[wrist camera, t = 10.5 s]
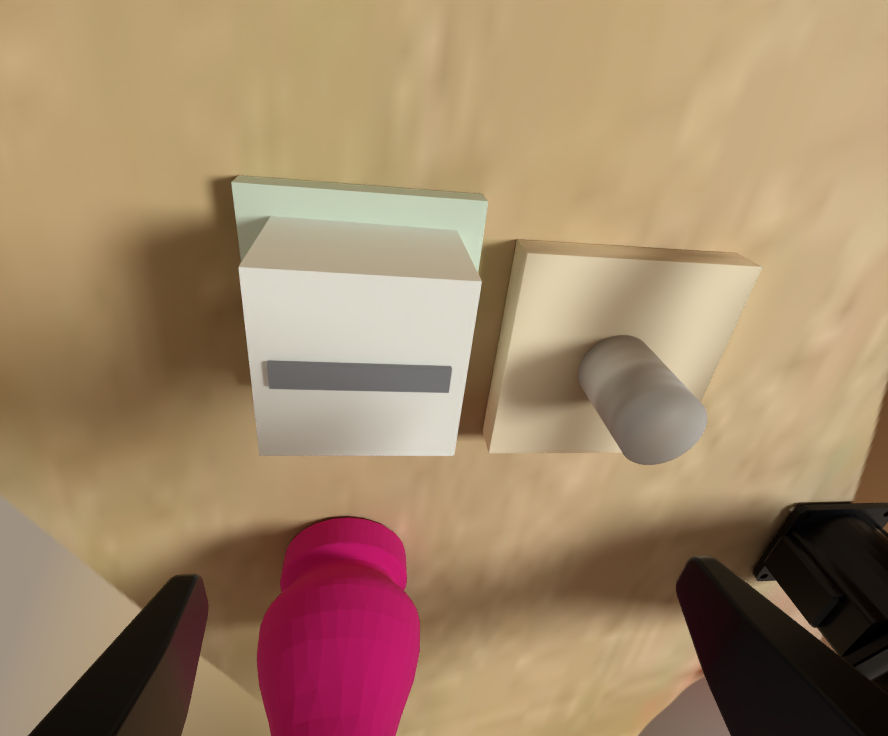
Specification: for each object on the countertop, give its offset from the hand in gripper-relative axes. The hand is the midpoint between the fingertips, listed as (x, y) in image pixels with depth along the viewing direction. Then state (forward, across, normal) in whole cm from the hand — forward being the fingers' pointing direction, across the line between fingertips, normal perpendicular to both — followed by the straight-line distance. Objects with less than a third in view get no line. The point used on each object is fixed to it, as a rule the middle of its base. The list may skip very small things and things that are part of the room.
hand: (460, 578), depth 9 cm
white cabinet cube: (+11, +2, 0) cm, 11 cm away
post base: (+12, -8, +2) cm, 14 cm away
